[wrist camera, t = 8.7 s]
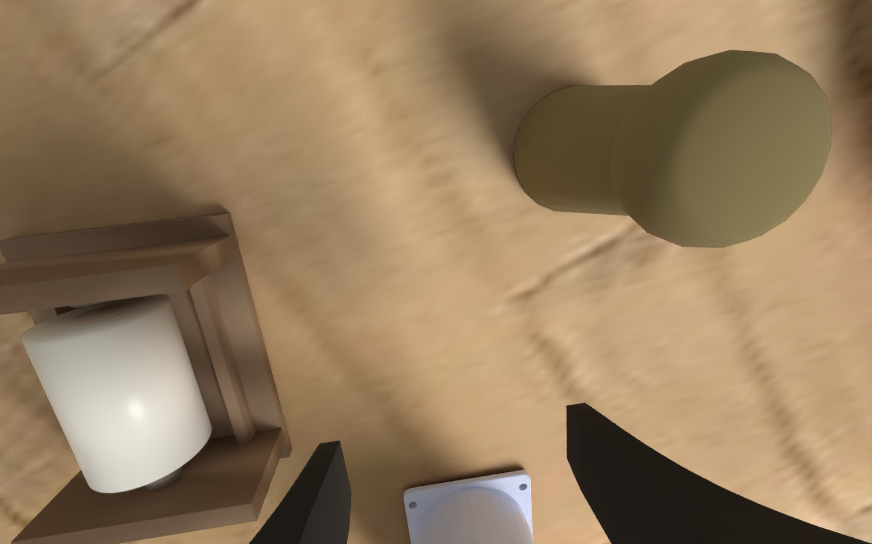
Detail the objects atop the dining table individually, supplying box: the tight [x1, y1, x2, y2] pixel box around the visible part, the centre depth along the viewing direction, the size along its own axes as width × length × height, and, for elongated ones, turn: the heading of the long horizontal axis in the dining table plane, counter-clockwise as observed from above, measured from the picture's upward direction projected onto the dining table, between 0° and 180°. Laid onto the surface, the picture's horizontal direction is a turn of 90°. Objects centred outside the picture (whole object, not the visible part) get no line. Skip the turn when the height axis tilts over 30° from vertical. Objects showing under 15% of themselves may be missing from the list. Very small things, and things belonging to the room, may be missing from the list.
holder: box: [0, 213, 292, 544], centre depth 18 cm, size 14×10×6 cm
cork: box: [513, 50, 832, 248], centre depth 15 cm, size 6×6×11 cm
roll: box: [21, 294, 212, 493], centre depth 18 cm, size 7×5×5 cm
